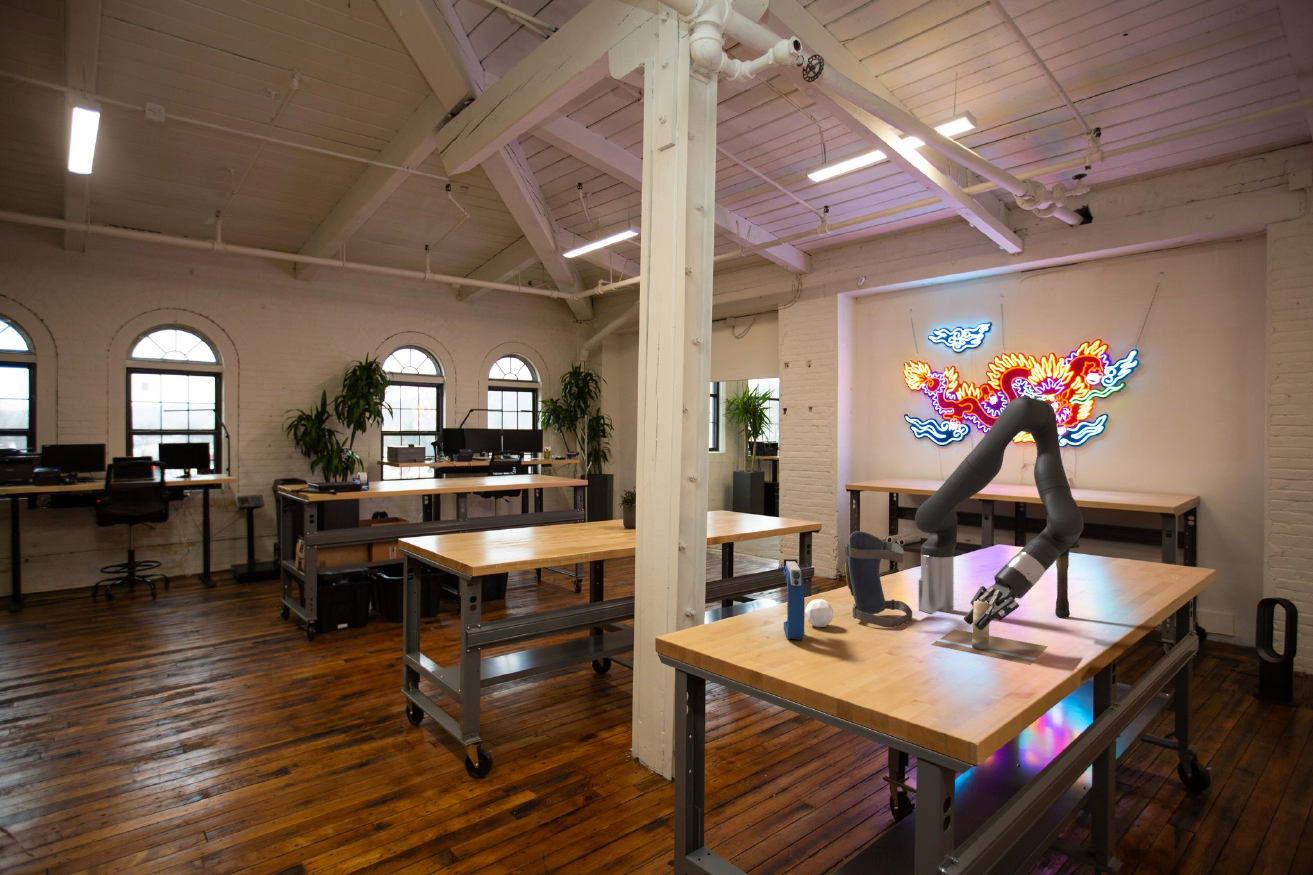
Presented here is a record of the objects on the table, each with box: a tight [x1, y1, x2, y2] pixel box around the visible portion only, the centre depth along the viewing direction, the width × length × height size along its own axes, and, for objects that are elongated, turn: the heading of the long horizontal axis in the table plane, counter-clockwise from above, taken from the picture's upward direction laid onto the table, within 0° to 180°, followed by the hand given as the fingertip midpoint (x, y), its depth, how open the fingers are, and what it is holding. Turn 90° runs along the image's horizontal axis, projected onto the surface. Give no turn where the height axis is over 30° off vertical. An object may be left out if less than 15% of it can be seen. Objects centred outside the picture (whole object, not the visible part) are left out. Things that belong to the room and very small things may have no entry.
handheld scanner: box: [783, 558, 805, 640], centre depth 176 cm, size 4×16×19 cm, turn 174°
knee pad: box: [843, 530, 913, 629], centre depth 193 cm, size 18×20×25 cm
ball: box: [804, 598, 835, 628], centre depth 185 cm, size 8×8×8 cm
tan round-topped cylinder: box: [972, 600, 990, 650], centre depth 161 cm, size 4×4×11 cm
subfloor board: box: [930, 628, 1048, 666], centre depth 163 cm, size 22×18×2 cm
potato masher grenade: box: [1046, 514, 1080, 619], centre depth 195 cm, size 8×9×30 cm
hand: (972, 624), depth 161 cm, fingers open, 4 cm apart
